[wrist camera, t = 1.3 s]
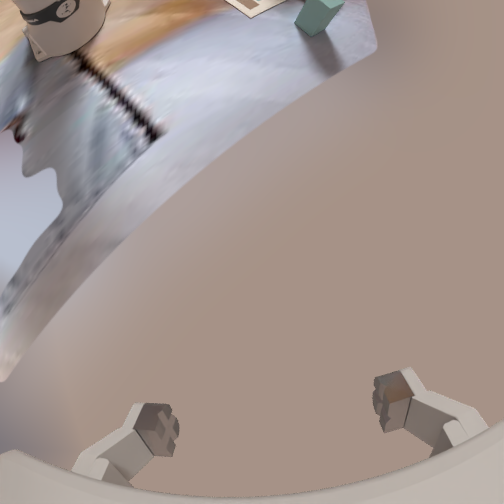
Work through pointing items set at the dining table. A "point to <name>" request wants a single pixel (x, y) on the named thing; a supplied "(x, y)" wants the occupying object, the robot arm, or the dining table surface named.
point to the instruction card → (253, 6)
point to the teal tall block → (317, 15)
